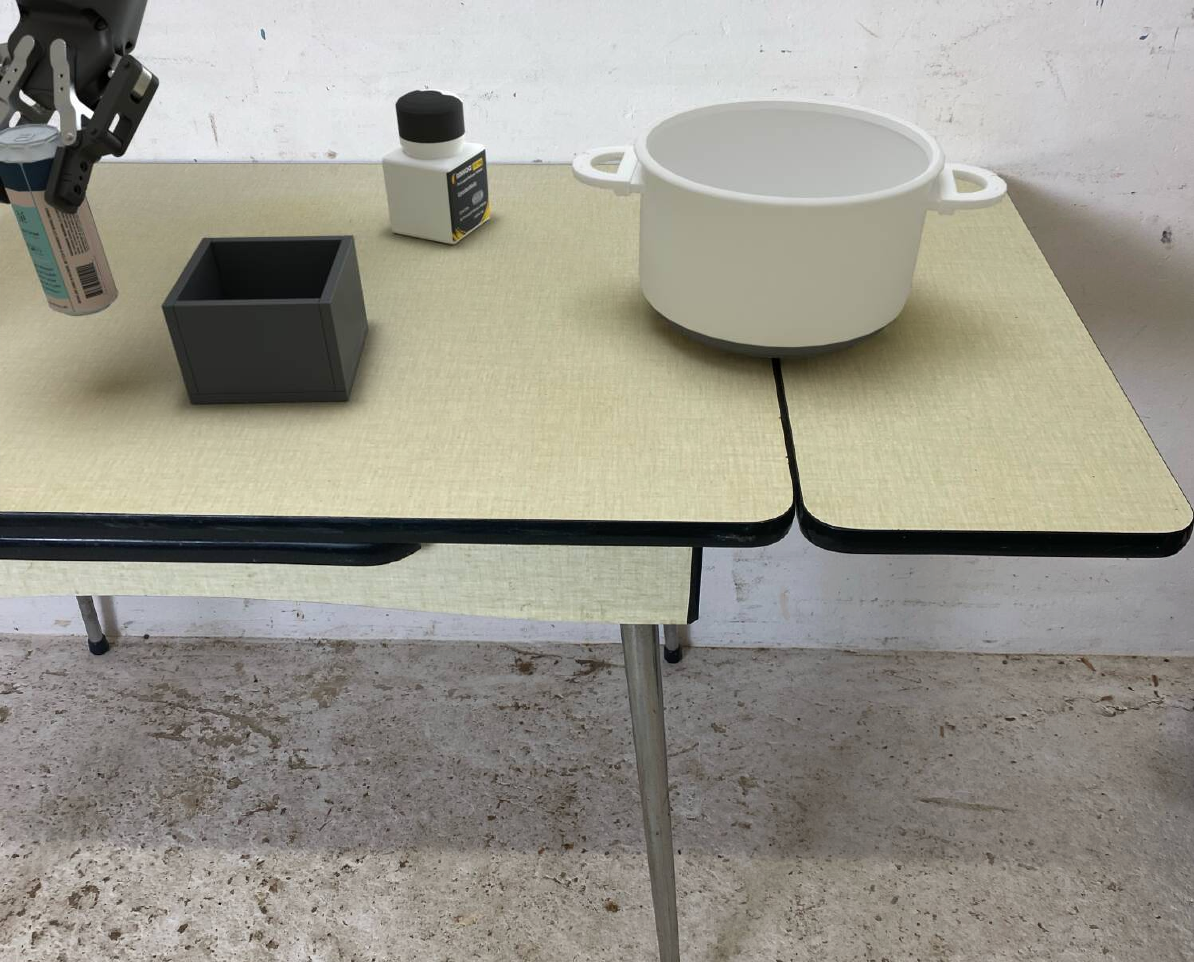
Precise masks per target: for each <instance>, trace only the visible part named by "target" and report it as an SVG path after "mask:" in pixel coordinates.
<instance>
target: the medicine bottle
mask: <svg viewBox="0 0 1194 962" xmlns="http://www.w3.org/2000/svg"><path fill="white" fill-rule="evenodd" d="M463 102H464V101H463V100H462V98H461V97H460V96H459V95H458V94H456V93H453V92H451V91H449V90H445V89H441V88H421V89H416V90H412V91H410V92H407V93H405V94H403V95H402V96H400V97H399V98H398V99H397V101H396V102H395V105H394V106H395V113H396V121H397V122H396V123H397V129H398V137H399V144H400V147H399V148H396V149H395V150H393V151H392V152H390V153H388V154H386V155H385V156H383V157H382V159H381V163H382V164H381V165H382V170H383V171H382V172H383V176H384V177H383V178H384V184H385V192H386V200H387V206H388V215H389V221H390V228H391V231H392V233H394V234H398V235H404V236H407V237H414V238H419V239H423V240H427V241H428V240H429V241H434V242H439V243H444V244H448V245H456V244H457V243H458V242H460V241H461V240H462V239H464V238H465V237H467V236H468V235H469V234H470V233H472V232H473V231H475V230H476V229H478V228H479V227H480V226H481V225H483V224H484V223H485V222H487V221H488V220H489V219H490V218H491V211H490V209H491V208H490V197H489V182H488V167H487V154H486V153H487V152H486V146H485V145H484V144H482V143H475V142H469V141H466V140H467V139H466V127H465V115H464V103H463Z"/></svg>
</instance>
